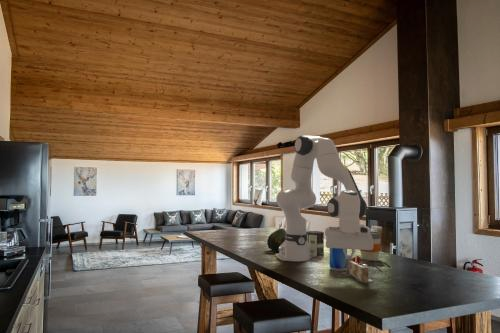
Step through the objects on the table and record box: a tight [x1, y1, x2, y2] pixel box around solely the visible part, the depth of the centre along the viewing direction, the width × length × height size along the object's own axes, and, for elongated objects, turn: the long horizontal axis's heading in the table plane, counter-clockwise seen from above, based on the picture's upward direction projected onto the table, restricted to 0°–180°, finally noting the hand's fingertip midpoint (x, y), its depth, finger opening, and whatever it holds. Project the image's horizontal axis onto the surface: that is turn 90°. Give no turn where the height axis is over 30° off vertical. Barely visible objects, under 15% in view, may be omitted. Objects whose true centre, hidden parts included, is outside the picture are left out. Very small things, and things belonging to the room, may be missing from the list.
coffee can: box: [306, 230, 325, 259], centre depth 223 cm, size 10×10×14 cm
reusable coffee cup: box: [359, 230, 382, 262], centre depth 214 cm, size 13×13×15 cm
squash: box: [266, 228, 287, 253], centre depth 239 cm, size 14×15×15 cm
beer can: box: [329, 248, 348, 272], centre depth 188 cm, size 8×8×16 cm
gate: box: [345, 259, 370, 283], centre depth 169 cm, size 20×3×6 cm, turn 7°
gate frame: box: [340, 263, 374, 284], centre depth 172 cm, size 18×6×7 cm, turn 22°
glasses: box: [352, 254, 391, 273], centre depth 194 cm, size 14×16×5 cm
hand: (348, 259), depth 167 cm, fingers closed
